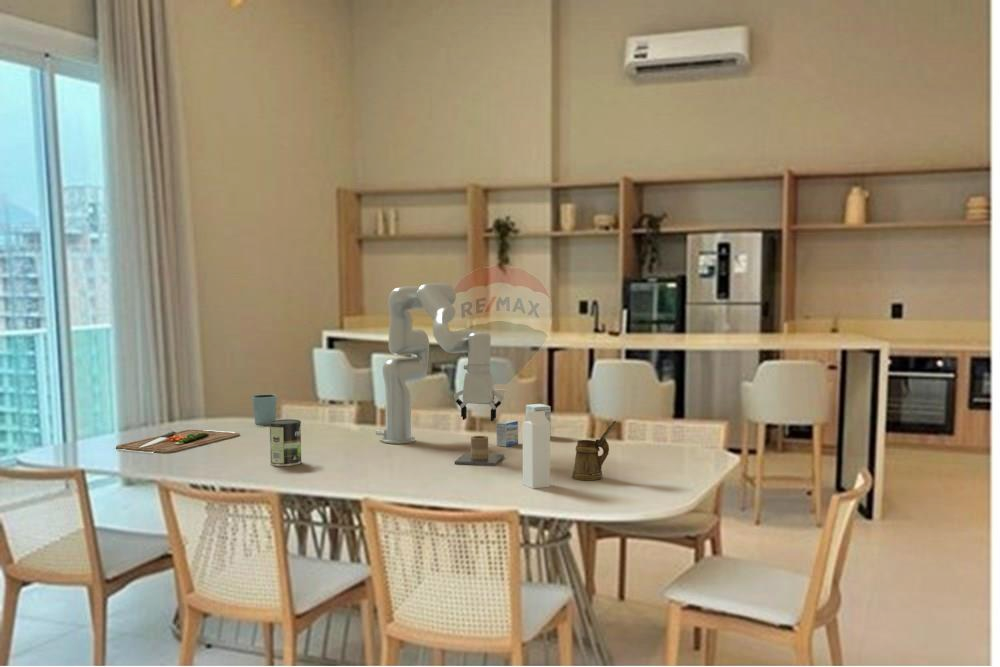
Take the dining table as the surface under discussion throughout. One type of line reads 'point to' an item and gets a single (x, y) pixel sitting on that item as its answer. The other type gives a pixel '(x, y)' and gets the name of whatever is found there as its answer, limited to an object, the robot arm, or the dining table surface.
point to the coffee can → (285, 442)
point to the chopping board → (176, 441)
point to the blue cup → (264, 408)
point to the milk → (536, 450)
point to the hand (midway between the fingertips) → (478, 419)
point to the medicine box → (507, 433)
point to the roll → (479, 447)
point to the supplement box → (540, 408)
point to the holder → (490, 461)
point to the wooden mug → (591, 457)
